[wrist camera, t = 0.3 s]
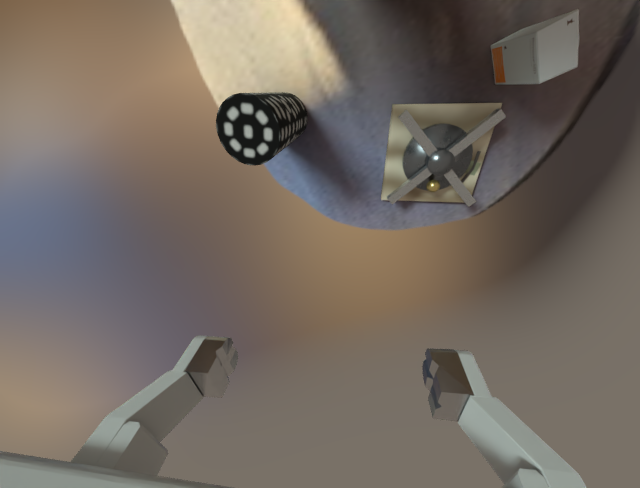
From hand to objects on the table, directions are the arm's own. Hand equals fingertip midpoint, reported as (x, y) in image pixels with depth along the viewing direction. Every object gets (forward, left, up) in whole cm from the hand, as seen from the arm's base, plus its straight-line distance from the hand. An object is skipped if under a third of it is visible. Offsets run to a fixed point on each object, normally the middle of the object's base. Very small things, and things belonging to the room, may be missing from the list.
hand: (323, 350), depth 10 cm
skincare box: (-13, +25, -46) cm, 54 cm away
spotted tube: (-5, -12, -46) cm, 48 cm away
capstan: (+2, +17, -44) cm, 47 cm away
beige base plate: (+2, +17, -46) cm, 49 cm away
